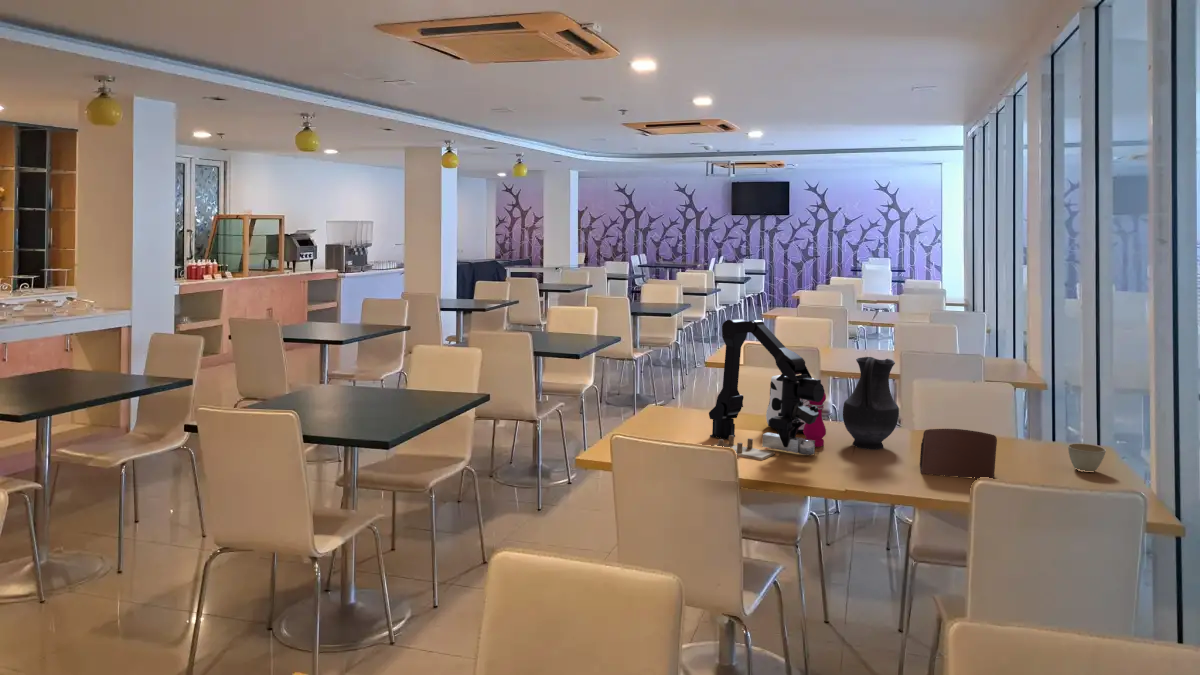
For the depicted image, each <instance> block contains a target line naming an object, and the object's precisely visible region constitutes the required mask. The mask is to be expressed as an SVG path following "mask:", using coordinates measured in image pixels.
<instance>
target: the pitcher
mask: <svg viewBox="0 0 1200 675" xmlns="http://www.w3.org/2000/svg"><path fill="white" fill-rule="evenodd" d="M856 363H857V364H858V367H859V372H860V377H859V380H858V381H857V384H856V387H855V388H854V389H853V392H851V394H850V396H849V397H848V398H847V399H845V401H844V403H843V407H842V420H843V424H844V427H845V429H846V430H847V432H848V433H849V435H850V436H851V437H852V438H853V439H854V440H853V442H852V445H853V446H854V447H855V448H858V449H864V450H870V451H871V450H872V451H873V450H874V451H875V450H876V451H877V450H882V449H884V444H883V441H884V440H886V439H887V438H888V437H890V436H891V435H892V433H893V432H894V430H895V429H896V427H897V424H898V421H899V417H900V416H899V414H900V408H899V404H897V403H896V402H895V400H894V399H893V396H892V394H891V390H890V389H891V388H890V375H891V374H890V373H891V371H892V369H893V367H894V366H895V364H896V361H895V360H893V359H890V358H886V359H885V358H884V359H879V358H875V357H872V356H865V357H864V356H863V357H857V358H856Z"/></svg>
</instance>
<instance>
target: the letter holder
mask: <svg viewBox="0 0 1200 675" xmlns="http://www.w3.org/2000/svg"><path fill="white" fill-rule="evenodd" d="M997 444H998V439H997V436H996V435H994V434H991V433H987V432H983V431H982V432H981V431H976V430H971V429H962V428H961V429H960V428H928V429H926V430H924V431H923V435H922V440H921V444H920V455H919V456H920V457H919V468H920V469H919V470H920V474H921V475H929V474H933V475H932V476H940V475H943V476H944V475H945V476H944V477H950V476H958V477H957V478H960V477H972V478H974V477H975V479H974V480H978V479H977V478H980V477H989V478H994V479H995V469H996V456H997ZM943 476H942V477H943Z"/></svg>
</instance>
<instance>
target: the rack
mask: <svg viewBox="0 0 1200 675" xmlns="http://www.w3.org/2000/svg"><path fill="white" fill-rule="evenodd" d="M724 441H725V439H721V438H718V442H717V443H715V444H713V445H717V446H722V447H723V446H724V447H730V448H733V449H734V450H735V451H736V453H737V455H738V456H737V457H743V458H746V459H747V458H748V459H752V460H758V461H764V460H766V459H768V458H770V457H772V456H774V455H775V454H776V453H775V451H771V450H765V449H759V448H756V447H753V445H754V444H753V443H754V441H753V438H747V440H746V441H747V443H746V444H747V446H743V443H742V442H737V444H734V442H735V437H734V436H733V435H729V439H728V443H725V442H724Z"/></svg>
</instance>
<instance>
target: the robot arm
mask: <svg viewBox="0 0 1200 675" xmlns="http://www.w3.org/2000/svg"><path fill="white" fill-rule="evenodd" d="M748 333H751V334H752V335H753V336H754V337H755V339H756V340H758V342H759V343H760V344H761V345H762V346H763V347H764V348H765V349H766V350H767V352H769V354H770V355H771V356H772V357H773V360H775V365H776V367H777V368H778V370H779V371H780V373H781V374H780V375H781V376H779V377H778V378H777V379H776V380H777V381H782V398H781V399H780V400H779V403H781V412H779V413H778V416H775V417H772V418H771V419H770V420H769V423H767V425H768V427H769V428H772V427H774V428H776V429H775V430H776V432H777V434H779V436H780V439H781V441H782V443H783V446H784V447H788V443H789V438H790V436H792V437H797V433H798V432H797V431H798V428H799V427H801V426H802V425H803V424H804V422H801V420H803V421H805V423H807V424H812V423H814V422H815V420H816V418H817V417H818V416H819V415H818V414H819V412H818V407H816V406H814V405H813V406H811V407H810V408H809V407H805V406H803V401H802V400H800V398H801V399H804V400H809V401H814V402H820V401H821V400H822V399H823V397H824V392H825V393H826V391H825V387H824V385H823V384H822V381H821V379H819V378H814V379H812V378H813V376H811V373H810V372H809V370H808V368H807V365H806V360H805V359H804V358H803V357H802V356H800V354H798V353H796V352H795V351H792V350H790V349H789V348H787V347H786V346H785V345H784V343H782V342H781V341H780V340H779V339H778V337H777V336H776V335H775V334H774V333H773V332H772V331H771V330H770V329H769V328H768V326H766V325H765V323H764V321H763V320H761V319H755V320H749V321H746V320H745V319H743V318H734V319H727V320H725V321H724V322H723V323H722V325H721V335H722V339H723V342H724V345H725V352H724V353H725V354H724V363H723V364H724V365H723V366H724V367H723V378H722V387H721V388H722V389H721V390H720V392H719V394H717V398H716V402H715V406H714V407H712V409H711V410H710V411H709V412H708V415H709V419H710V420H712V430H711V431H712V432H711V434H710V435H709V437H710V438H717V439H722V440H729V435H733V436H734V438H735V437H736V434H735V430H736V426H735V425H736V424H735V419H737V418H738V417H739V416H738V415H739V413H740V412H741V410H742V408H744V405H743V403H744V402H743V400H744V395H743V394H740V391H739V390H738V387H739V376H740V375H739V374H740V367H741V366H740V363H741V352H742V346H743V344H744V343H745V341H746V339H747V337H748ZM779 416H781V417H779ZM800 419H801V420H800ZM774 428H773V429H774Z"/></svg>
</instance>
